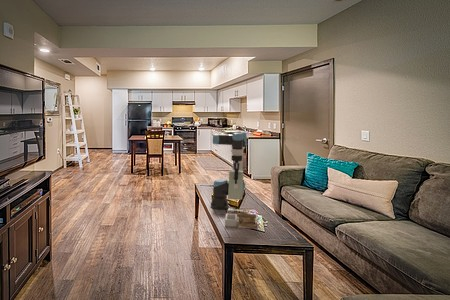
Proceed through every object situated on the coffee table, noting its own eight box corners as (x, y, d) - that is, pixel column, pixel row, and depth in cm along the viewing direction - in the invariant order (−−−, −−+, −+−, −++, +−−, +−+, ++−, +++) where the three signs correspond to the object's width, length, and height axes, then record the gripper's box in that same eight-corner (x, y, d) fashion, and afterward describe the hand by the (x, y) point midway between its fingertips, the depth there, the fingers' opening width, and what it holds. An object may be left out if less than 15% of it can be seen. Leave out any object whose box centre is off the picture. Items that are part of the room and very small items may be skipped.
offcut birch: (239, 225, 239) (239, 222, 238) (253, 226, 239) (253, 222, 239) (239, 227, 235) (240, 224, 234) (254, 228, 236) (254, 224, 235)
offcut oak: (241, 220, 237) (241, 218, 237) (249, 219, 239) (249, 217, 239) (243, 221, 234) (243, 219, 234) (251, 221, 236) (251, 219, 236)
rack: (236, 221, 247) (237, 213, 247) (255, 222, 247) (256, 214, 246) (236, 227, 233) (237, 219, 233) (256, 228, 233) (257, 220, 232)
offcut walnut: (239, 222, 237) (239, 220, 237) (251, 222, 240) (251, 219, 240) (241, 224, 234) (241, 222, 233) (253, 223, 236) (253, 221, 236)
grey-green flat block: (228, 197, 241) (229, 170, 239) (242, 198, 241) (243, 171, 239) (228, 198, 238) (229, 171, 236) (242, 199, 238) (243, 171, 236)
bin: (225, 220, 249) (225, 213, 248) (236, 220, 248) (237, 214, 248) (224, 226, 235) (225, 219, 234) (236, 227, 234) (236, 220, 234)
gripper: (231, 153, 244) (230, 184, 247) (231, 156, 228) (230, 190, 231) (241, 153, 244) (240, 185, 247) (242, 156, 228) (241, 190, 231)
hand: (235, 187), depth 239 cm, fingers closed on grey-green flat block, 3 cm apart
